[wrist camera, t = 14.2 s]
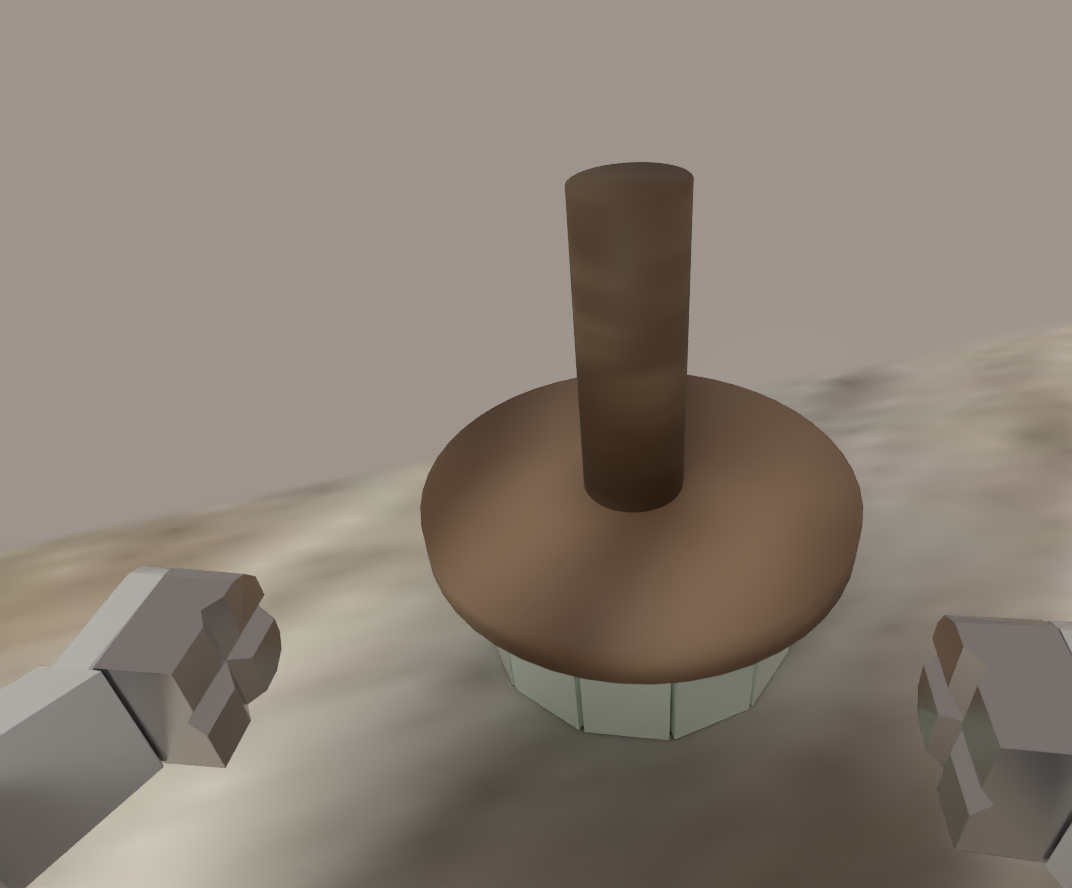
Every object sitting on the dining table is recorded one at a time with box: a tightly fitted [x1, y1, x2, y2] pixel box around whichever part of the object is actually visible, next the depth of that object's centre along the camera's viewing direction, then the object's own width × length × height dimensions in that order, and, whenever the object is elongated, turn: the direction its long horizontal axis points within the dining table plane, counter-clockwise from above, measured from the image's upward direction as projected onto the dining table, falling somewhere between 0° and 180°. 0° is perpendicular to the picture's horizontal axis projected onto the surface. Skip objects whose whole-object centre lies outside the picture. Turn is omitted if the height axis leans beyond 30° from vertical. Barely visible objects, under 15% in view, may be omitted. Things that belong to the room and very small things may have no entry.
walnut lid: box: [420, 162, 863, 685], centre depth 21 cm, size 13×13×10 cm
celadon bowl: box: [496, 646, 790, 740], centre depth 25 cm, size 10×10×4 cm
